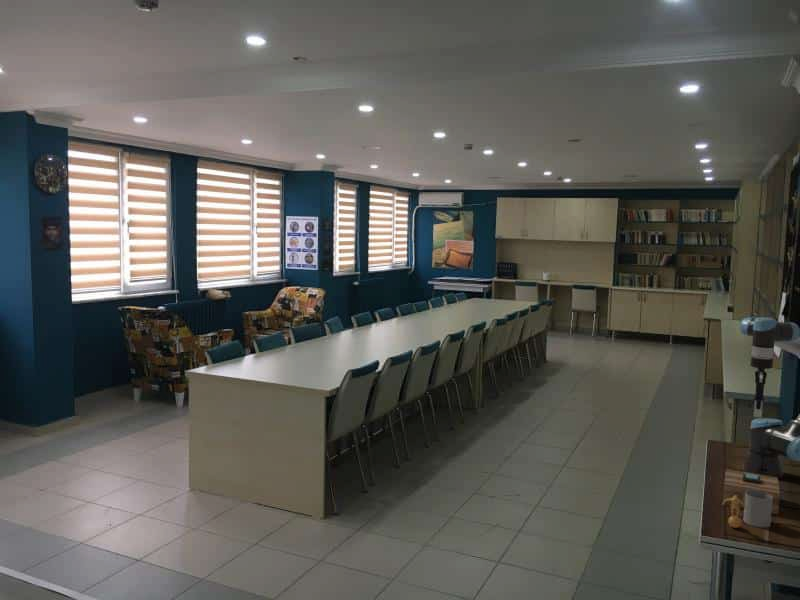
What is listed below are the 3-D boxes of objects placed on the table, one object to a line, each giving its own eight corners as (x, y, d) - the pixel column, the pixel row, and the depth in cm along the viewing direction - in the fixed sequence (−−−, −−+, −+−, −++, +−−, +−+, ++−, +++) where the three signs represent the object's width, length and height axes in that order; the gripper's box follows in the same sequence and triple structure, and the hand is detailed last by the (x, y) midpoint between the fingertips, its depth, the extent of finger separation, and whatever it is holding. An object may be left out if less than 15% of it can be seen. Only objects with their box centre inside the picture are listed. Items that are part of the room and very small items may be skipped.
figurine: (749, 528, 229) (751, 494, 228) (745, 534, 224) (748, 500, 223) (722, 522, 234) (725, 488, 233) (718, 527, 229) (721, 493, 228)
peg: (744, 494, 256) (745, 473, 256) (756, 496, 255) (757, 475, 254) (744, 497, 253) (745, 477, 252) (756, 499, 251) (757, 479, 250)
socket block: (724, 488, 266) (725, 466, 265) (776, 497, 258) (778, 474, 257) (722, 504, 250) (724, 480, 249) (778, 514, 242) (780, 489, 241)
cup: (739, 521, 235) (741, 494, 234) (748, 515, 241) (750, 488, 240) (766, 529, 229) (768, 501, 228) (773, 522, 235) (776, 495, 234)
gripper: (751, 353, 269) (746, 411, 271) (751, 358, 257) (746, 419, 260) (772, 355, 266) (767, 414, 268) (773, 361, 254) (768, 421, 256)
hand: (757, 416), depth 264 cm, fingers closed
